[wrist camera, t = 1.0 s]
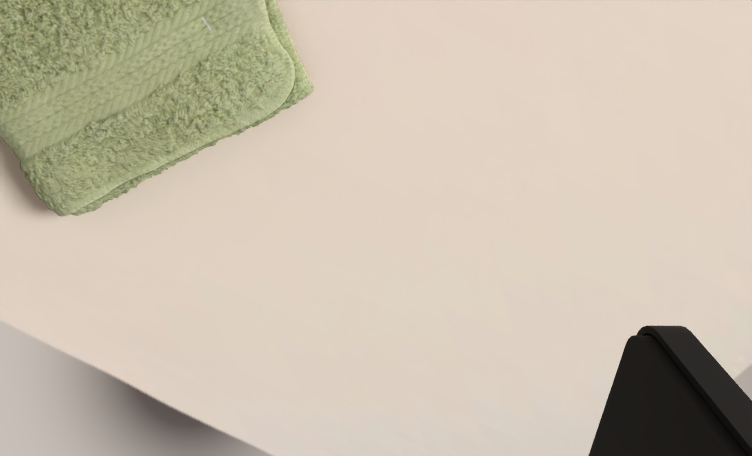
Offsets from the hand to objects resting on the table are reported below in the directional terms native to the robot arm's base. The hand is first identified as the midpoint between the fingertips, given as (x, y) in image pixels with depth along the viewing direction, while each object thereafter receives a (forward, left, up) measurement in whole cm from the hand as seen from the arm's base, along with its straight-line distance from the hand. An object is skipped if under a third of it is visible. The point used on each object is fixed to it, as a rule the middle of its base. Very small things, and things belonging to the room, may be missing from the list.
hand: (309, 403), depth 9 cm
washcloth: (+9, -3, -32) cm, 33 cm away
